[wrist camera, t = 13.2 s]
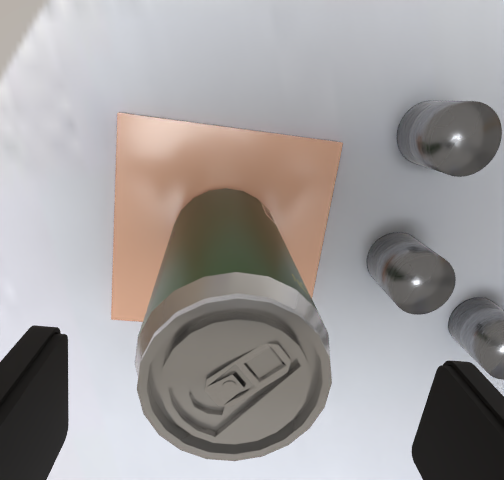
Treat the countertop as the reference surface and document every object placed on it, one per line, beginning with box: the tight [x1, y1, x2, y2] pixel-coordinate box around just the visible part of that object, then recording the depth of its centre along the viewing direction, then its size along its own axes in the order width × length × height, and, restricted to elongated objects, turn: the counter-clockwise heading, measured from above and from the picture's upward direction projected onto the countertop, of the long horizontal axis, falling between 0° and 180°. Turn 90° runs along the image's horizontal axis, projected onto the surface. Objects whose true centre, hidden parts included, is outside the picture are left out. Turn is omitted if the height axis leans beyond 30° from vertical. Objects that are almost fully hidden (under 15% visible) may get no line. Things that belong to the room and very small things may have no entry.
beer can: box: [135, 188, 332, 461], centre depth 16 cm, size 5×5×12 cm
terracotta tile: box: [111, 112, 343, 322], centre depth 22 cm, size 11×11×1 cm
